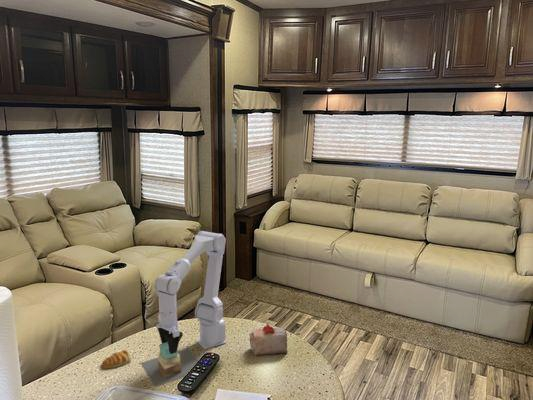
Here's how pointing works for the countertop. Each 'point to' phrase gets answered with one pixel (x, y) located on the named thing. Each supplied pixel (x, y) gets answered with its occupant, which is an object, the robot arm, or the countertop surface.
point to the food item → (268, 340)
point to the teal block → (166, 351)
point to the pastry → (117, 360)
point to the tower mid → (169, 361)
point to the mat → (157, 378)
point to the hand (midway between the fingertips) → (169, 347)
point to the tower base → (169, 370)
